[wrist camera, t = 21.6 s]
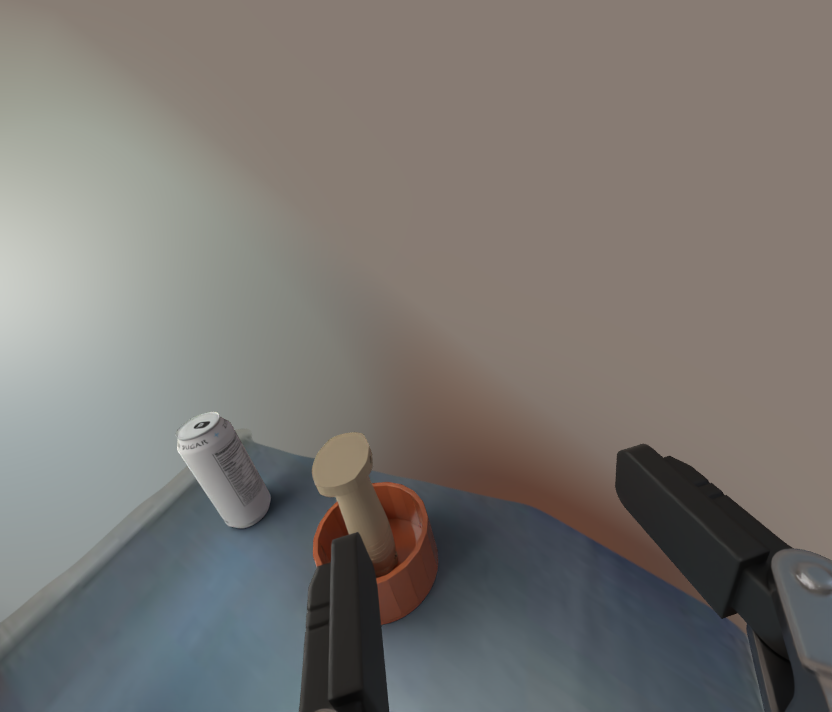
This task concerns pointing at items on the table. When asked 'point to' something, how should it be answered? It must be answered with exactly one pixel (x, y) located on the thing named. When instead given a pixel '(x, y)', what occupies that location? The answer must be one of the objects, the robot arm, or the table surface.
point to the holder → (411, 543)
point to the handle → (356, 495)
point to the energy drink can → (223, 469)
